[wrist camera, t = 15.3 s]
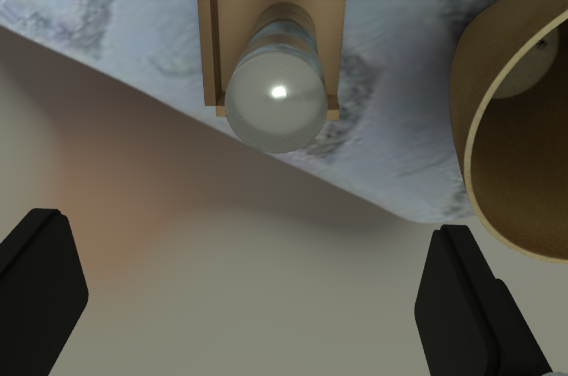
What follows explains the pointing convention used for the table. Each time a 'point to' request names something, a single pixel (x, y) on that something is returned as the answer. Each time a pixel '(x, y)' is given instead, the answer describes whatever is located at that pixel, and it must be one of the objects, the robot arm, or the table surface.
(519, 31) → the plant pot
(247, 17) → the tray
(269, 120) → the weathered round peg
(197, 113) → the table surface
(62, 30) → the table surface
